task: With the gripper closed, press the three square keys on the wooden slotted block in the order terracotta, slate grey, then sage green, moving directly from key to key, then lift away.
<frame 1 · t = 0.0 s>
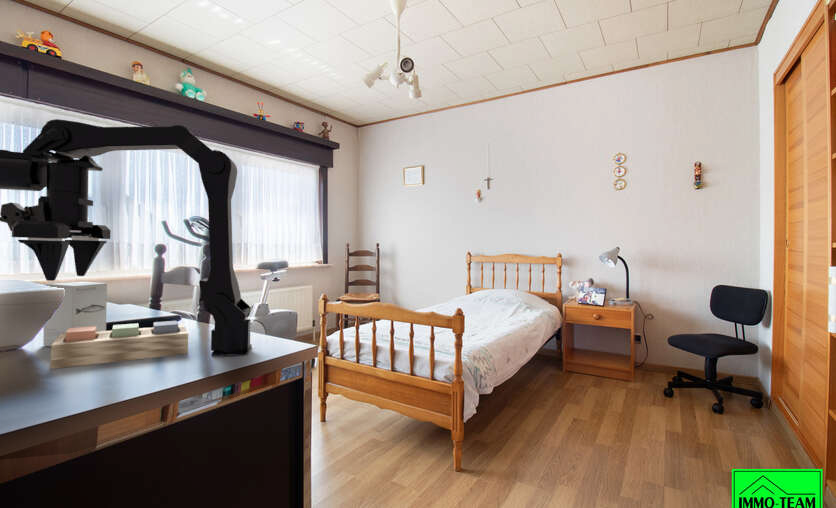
hand: (66, 278, 73), 15 cm above the table, fingers open, 9 cm apart
key slate: (165, 329, 80), point 4 cm above the table, slide at 0.0 cm
supplement box: (75, 344, 83), on the table
wooden slotted block: (125, 354, 77), on the table
key terracotta: (81, 336, 73), point 4 cm above the table, slide at 0.0 cm
key sage: (125, 332, 76), point 4 cm above the table, slide at 0.0 cm
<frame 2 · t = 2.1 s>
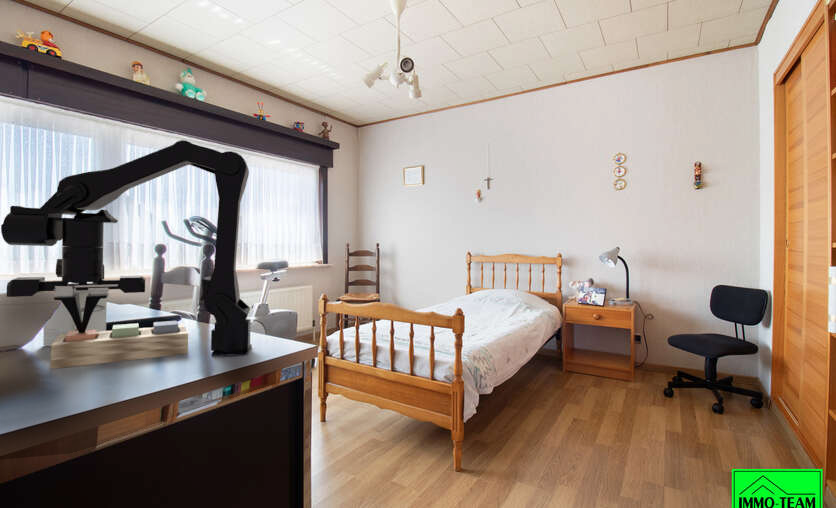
hand: (82, 332, 73), 5 cm above the table, fingers closed, pressing on key terracotta
key terracotta: (81, 339, 73), point 4 cm above the table, slide at 0.6 cm, touching gripper
everything else where it was.
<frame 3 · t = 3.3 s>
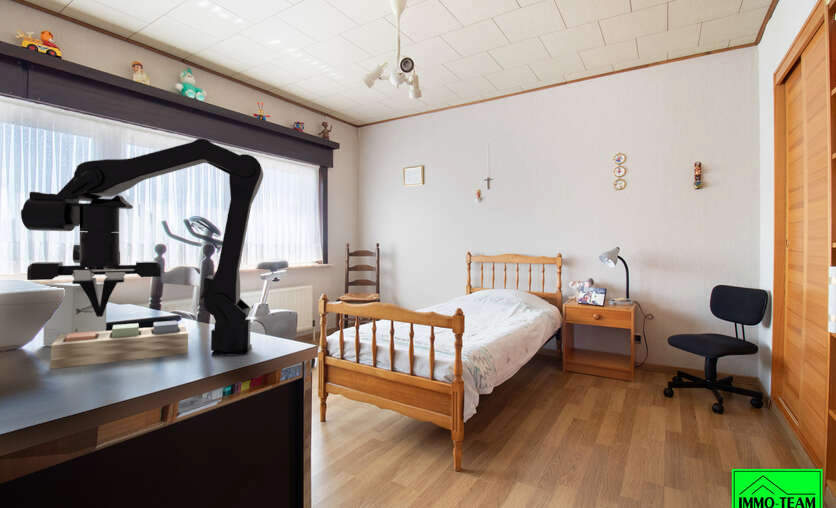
hand: (99, 316, 74), 8 cm above the table, fingers closed
key terracotta: (81, 341, 73), point 3 cm above the table, slide at 0.9 cm
everything else where it was.
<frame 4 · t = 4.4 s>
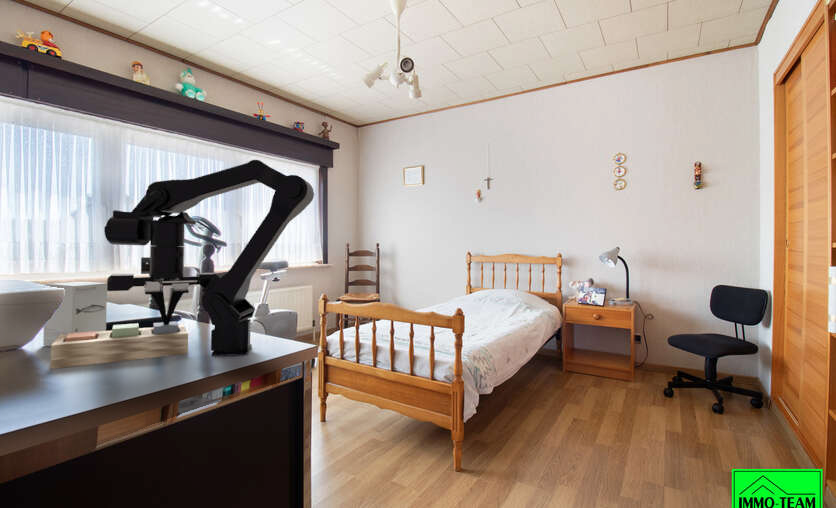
hand: (166, 324, 80), 5 cm above the table, fingers closed, pressing on key slate
key slate: (165, 330, 80), point 4 cm above the table, slide at 0.2 cm, touching gripper
everything else where it was.
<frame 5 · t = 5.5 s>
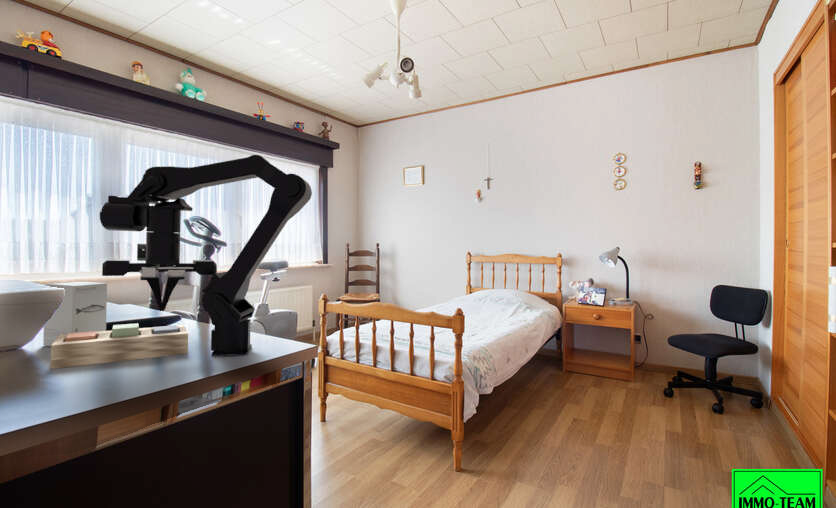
hand: (161, 310, 80), 8 cm above the table, fingers closed
key slate: (165, 334, 80), point 3 cm above the table, slide at 1.0 cm
everything else where it was.
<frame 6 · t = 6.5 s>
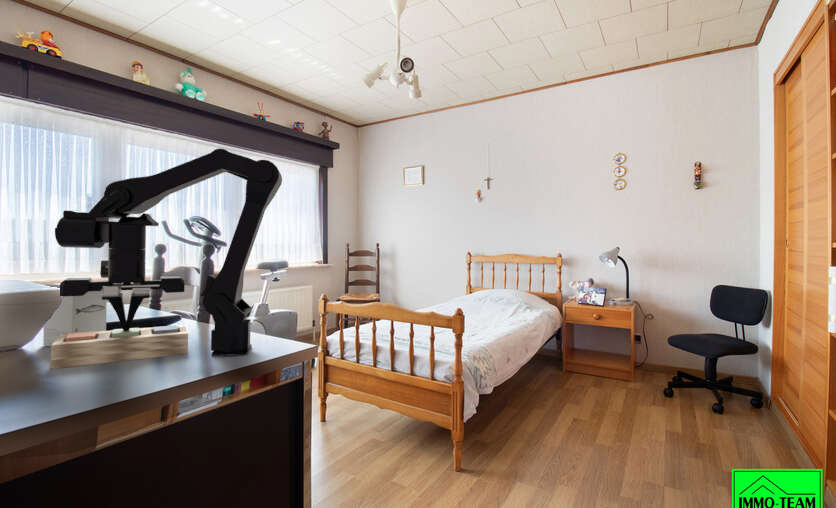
hand: (126, 330, 76), 5 cm above the table, fingers closed, pressing on key sage
key sage: (125, 336, 77), point 3 cm above the table, slide at 0.8 cm, touching gripper
everything else where it was.
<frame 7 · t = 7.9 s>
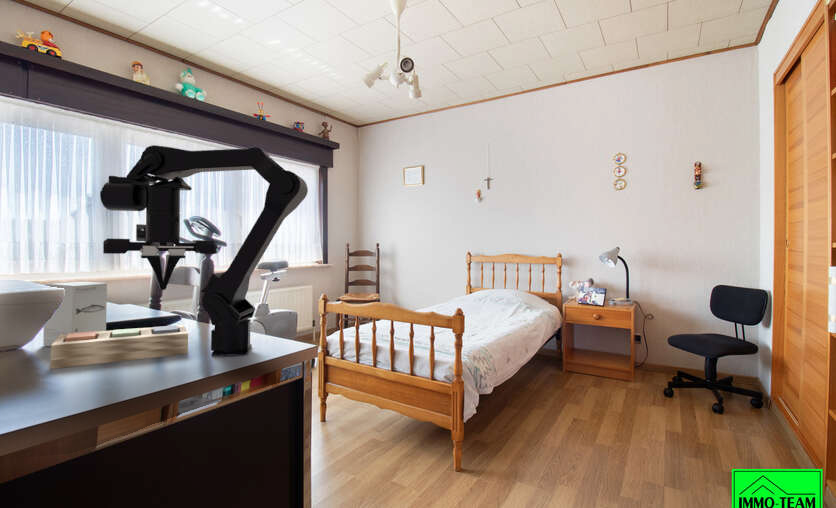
hand: (162, 289, 80), 12 cm above the table, fingers closed
key sage: (125, 337, 77), point 3 cm above the table, slide at 1.0 cm
everything else where it was.
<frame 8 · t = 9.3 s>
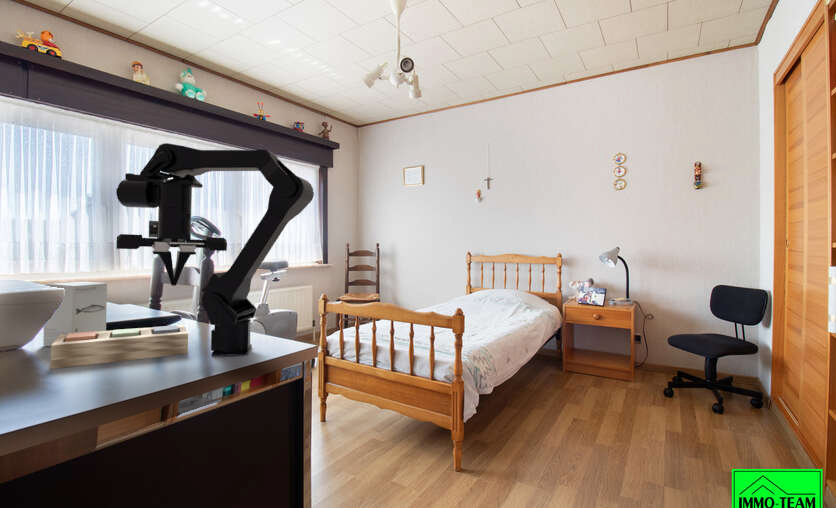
hand: (173, 285, 81), 13 cm above the table, fingers closed
nothing on the table moved.
at the end: key terracotta slide at 0.9 cm; key slate slide at 1.0 cm; key sage slide at 1.0 cm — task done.
